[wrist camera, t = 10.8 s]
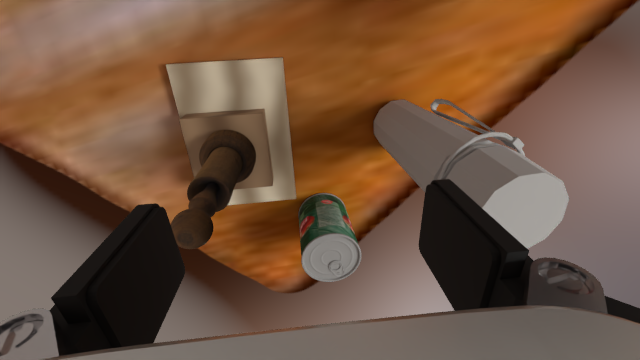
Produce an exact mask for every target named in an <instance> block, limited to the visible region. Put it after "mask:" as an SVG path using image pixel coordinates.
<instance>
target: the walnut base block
mask: <svg viewBox="0 0 640 360" xmlns="http://www.w3.org/2000/svg"><path fill="white" fill-rule="evenodd" d="M179 122H180V126H181V129H182V133H183V137H184V141H185V144H186V148H187V152H188V156H189V160H190V163H191V167H192V171H193V175H194V178H195V176H196V175H197V174H198V172H199V171H200V169H201V168H202V167H201V164H200V161H199V152H200V149H201V146H202V145H203V143H204V142H205V140H206V139H207V138H208V137H209V136H210V135H211V134H213V133H214V132H217V131H220V130H233V131H237V132H239V133H241V134H243V135H244V136H246V137H247V138H248V139H249V140H250V141H251V142H252V144H253V146H254V148H255V151H256V162H255V165H254V168H253V171H252V173H251V174H250V175H249V177H248V178H246V179H245V180H243V181H242V182H239V183H236V185H235V187H234V190H235V189H247V188H258V187H269V186H273V178H274V176H273V169H272V161H271V154H270V146H269V138H268V131H267V123H266V115H265V108H264V109H250V110H236V111H221V112H207V113H193V114H186V115H184V116H183V117H182V118H180V119H179Z"/></svg>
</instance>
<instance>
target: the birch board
mask: <svg viewBox="0 0 640 360" xmlns="http://www.w3.org/2000/svg"><path fill="white" fill-rule="evenodd" d="M166 68H167V72H168V75H169V79H170V83H171V87H172V91H173V94H174V98H175V102H176V106H177V110H178V114H179V117H180V118H182V117H183V116H184V115H186V114H193V113H207V112H221V111H236V110H250V109H264V108H265V115H266V123H267V131H268V138H269V146H270V154H271V161H272V169H273V176H274V178H273V186H269V187H258V188H247V189H235V190H233V193H232V196H231V199H230V202H229V203H228V205H236V204H246V203H257V202H268V201H279V200H289V199H296V189H295V179H294V169H293V158H292V148H291V137H290V127H289V117H288V106H287V96H286V86H285V75H284V65H283V57H281V58H263V59H246V60H229V61H211V62H194V63H177V64H166Z"/></svg>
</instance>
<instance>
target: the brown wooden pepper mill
mask: <svg viewBox="0 0 640 360" xmlns="http://www.w3.org/2000/svg"><path fill="white" fill-rule="evenodd" d="M199 161H200V164H201V167H202V168H201V169H200V171H199V172H198V174H197V175H196V176H195V178H194V179H193V181H192V182H191V183H190V185H189V187H188V191H187V196H188V199H189V201H190V202H189V209H187V210H184V211H182V212H180V213H179V214H177V215H176V216H175V218H174V219H173V221H172V223H171V228H172V231H173V234H174V237H175V240H176V243H177V245H178V246H180V247H182V248H185V249H194V248H198V247H200V246H202V245H204V244H205V243H206V242H207V241H208V240H209V239H210V237H211V235H212V232H213V223H212V220H211V218H210V217H212V216H213V215H214V214H215V212H217V211H220V210H222V209H224V208H225V207H226V206H227V205H228V203H229V202H230V199H231V196H232V193H233V190H234V187H235V185H236V183H239V182H242V181H243V180H245V179H246V178H248V177H249V175H250V174H251V173H252V171H253V168H254V165H255V162H256V151H255V148H254V146H253V144H252V142H251V141H250V140H249V139H248V138H247V137H246V136H244V135H243V134H241V133H239V132H237V131H233V130H220V131H217V132H214V133H213V134H211V135H210V136H209V137H208V138H207V139H206V140H205V142H204V143H203V145H202V146H201V149H200V152H199Z"/></svg>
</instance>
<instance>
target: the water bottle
mask: <svg viewBox="0 0 640 360" xmlns="http://www.w3.org/2000/svg"><path fill="white" fill-rule="evenodd" d="M438 104H447V105H451V106H453V107H454V108H456V109H457V110H459V111H460V112H462V113H464V114H465V115H467V116H468V117H470V118H471V119H473V120H474V121H476V122H477V123H479V124H480V125H482V126H483V127H485V128H487V129H488V130H490V131H491V132H488V131H485V130H483V129H480V128H478V127H475V126H473V125H470V124H468V123H465V122H463V121H460V120H458V119H455V118H453V117H450V116H448V115H446V114H443V113H441V112H438V111H436V108H437V106H438ZM431 110H432V111H433V112H434V113H435V114H437V115H439V116H441V117H444V118H446V119H449V120H451V121H454V122H456V123H459V124H461V125H464V126H466V127H469V128H471V129H474V130H476V131H479V132H481V133H484V134H482V135H476V134H474V133H472V132H470V131H468V130H466V129H464V128H462V127H460V126H458V125H456V124H454V123H452V122H450V121H448V120H446V119H443V118H441V117H439V116H437V115H435V114H433V113H431V112H429V111H427V110H425V109H423V108H421V107H419V106H417V105H415V104H412V103H410V102H408V101H406V100H396V101H391V102H389V103H388V104H386V105H385V106H384V107H382V108H381V109H380V110H379V112H378V114H377V116H376V118H375V120H374V135H375V137H376V138H377V140H378V141H379V143H380V144H381V145H382V146H383V147H384V148H385V149H386V150H387V152H388V153H389V154H390V155H391V156H392V157H393V158H394V159H395V160H396V161H397V162H398V163H399V165H400V166H401V167H402V168H403V169H404V170H405V171H406V172H407V173H408V174H409V175H410V176H411V178H412V179H413V180H414V181H415V182H416V183H417V184H418V185H419V186H420V187H421V188H422V189H423V191H424V192H425V191H426V186H427V185H428V184H431V182H432V181H433V180H441V179H450V180H451V181H452V182H454V183H455V184H456V185H457V186H458V187H459V188H460V189H461V190H462V191H464V192H465V193H466V194H467V195H468V196H469V197H470V198H471V199H472V200H474V201H475V202H476V203H477V204H478V205H479V206H480V207H481V208H482V209H484V210H485V211H486V212H487V213H488V214H489V215H490V216H491V217H492V218H494V219H495V220H496V221H497V222H498V223H499V224H500V225H501V226H502V227H504V228H505V229H506V230H507V231H508V232H509V233H510V234H511V235H512V236H514V237H515V238H516V239H517V240H518V241H519V242H520V243H521V244H522V245H524V246H525V247H526V248H527V249H528V248H529V247H531V246H533V245H535V244H537V243H538V242H540V241H542V240H544V239H545V238H547V237H548V235H549V234H550V233H551V232H552V231H553V230H554V229H555V227H556V226H557V225H558V224H559V223H560V222H561V220H562V219H563V216H564V213H565V210H566V207H567V204H568V201H569V197H568V194H567V191H566V189H565V186H564V183H563V181H562V180H560V179H559V178H557V177H556V176H554V175H553V174H551V173H549V172H548V171H546V170H545V169H543V168H542V167H540V166H539V165H537V164H535V163H534V162H532V161H531V160H529V159H528V158H526V157H525V154H524V152H523V150H522V147H523V146H524V144H523V143H522V142H521V141H520V140H519V138H516V137H511V136H510V135H508V134H507V133H500V132H495V131H494V130H492V129H491V128H489V127H488V126H486V125H485V124H483V123H482V122H480V121H479V120H477V119H476V118H474V117H473V116H471V115H470V114H468V113H467V112H465V111H464V110H462V109H460V108H459V107H457V106H456V105H454V104H453V103H451V102H450V101H448V100H443V99H435V101H434V102H433V103H432V104H431ZM487 137H494V138H496V139H499V140H501V141H502V142H504V143H505V144H506V145H507V146H509V147H512V148H514V149H517V151H518V152H515V151H514V150H512V149H509V148H507V147H505V146H503V145H499V144H497V143H493V142H491V141H489V140H487V139H485V138H487Z"/></svg>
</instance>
